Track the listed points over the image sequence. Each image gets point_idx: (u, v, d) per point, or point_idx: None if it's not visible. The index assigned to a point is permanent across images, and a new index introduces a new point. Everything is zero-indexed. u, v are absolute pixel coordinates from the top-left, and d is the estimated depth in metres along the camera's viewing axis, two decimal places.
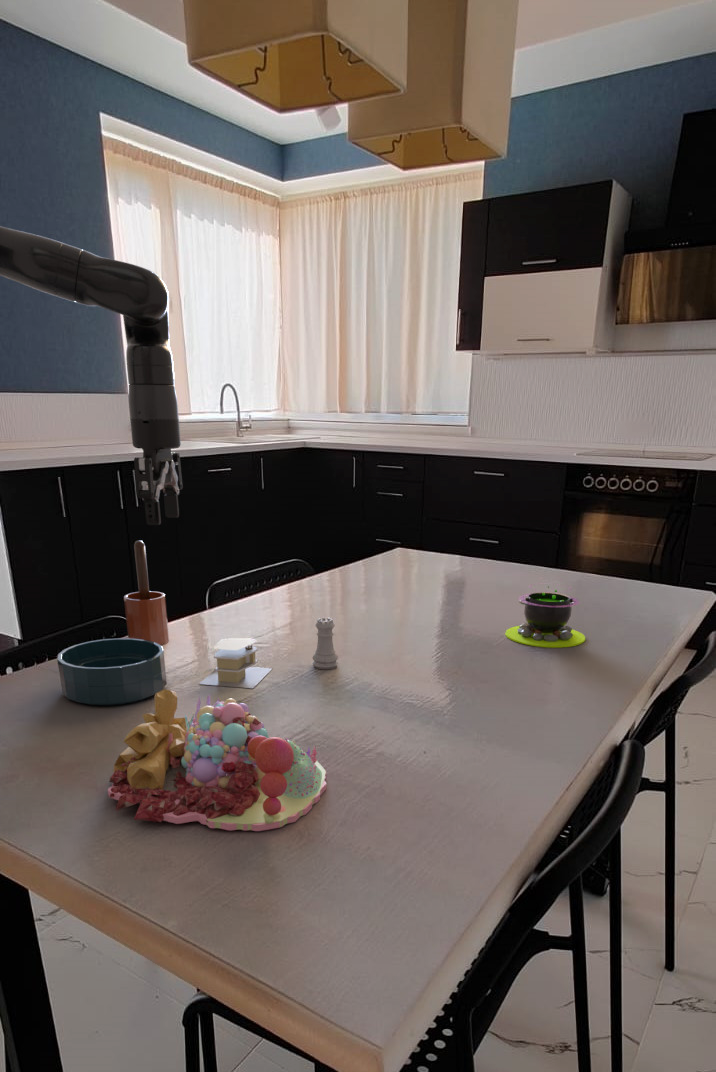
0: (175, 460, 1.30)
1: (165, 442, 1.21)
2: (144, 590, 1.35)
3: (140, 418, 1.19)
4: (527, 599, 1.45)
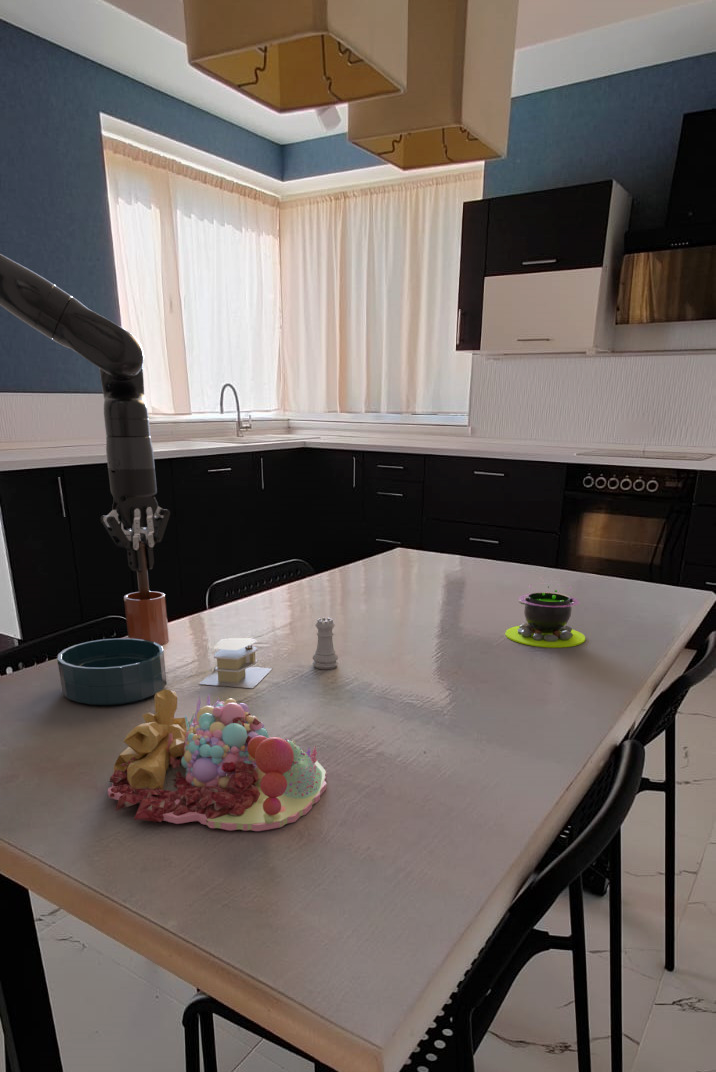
0: (162, 514, 1.34)
1: (130, 491, 1.26)
2: (144, 590, 1.35)
3: (110, 468, 1.26)
4: (527, 599, 1.45)
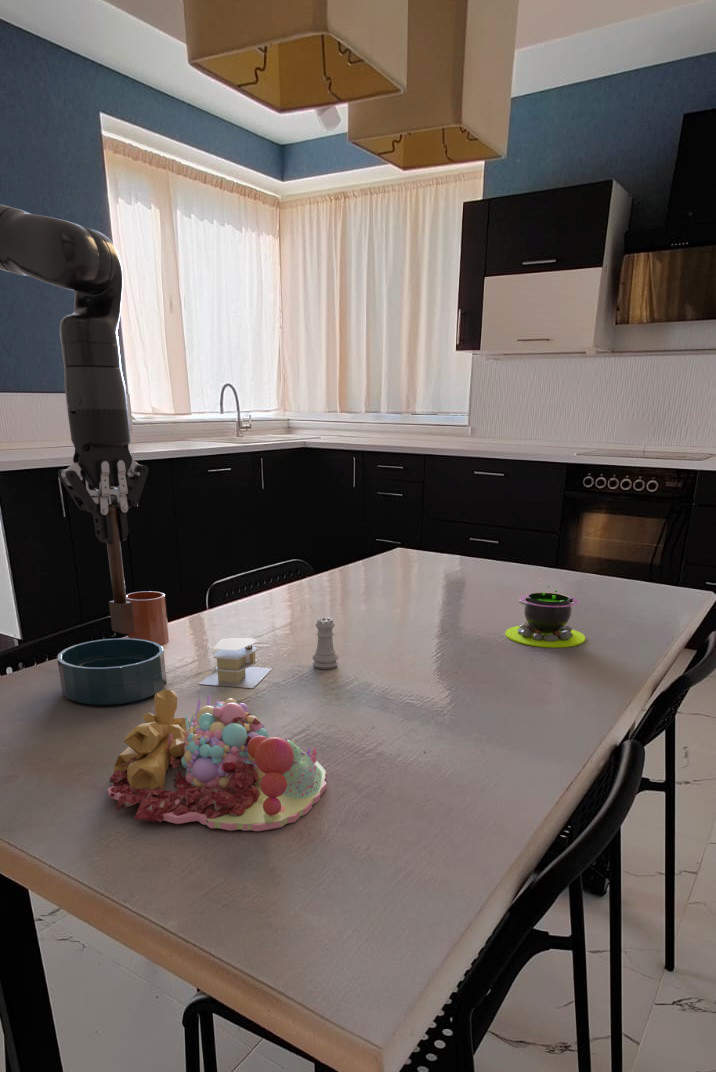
0: (139, 471, 1.07)
1: (95, 438, 0.98)
2: (116, 567, 1.08)
3: (69, 408, 0.98)
4: (527, 599, 1.45)
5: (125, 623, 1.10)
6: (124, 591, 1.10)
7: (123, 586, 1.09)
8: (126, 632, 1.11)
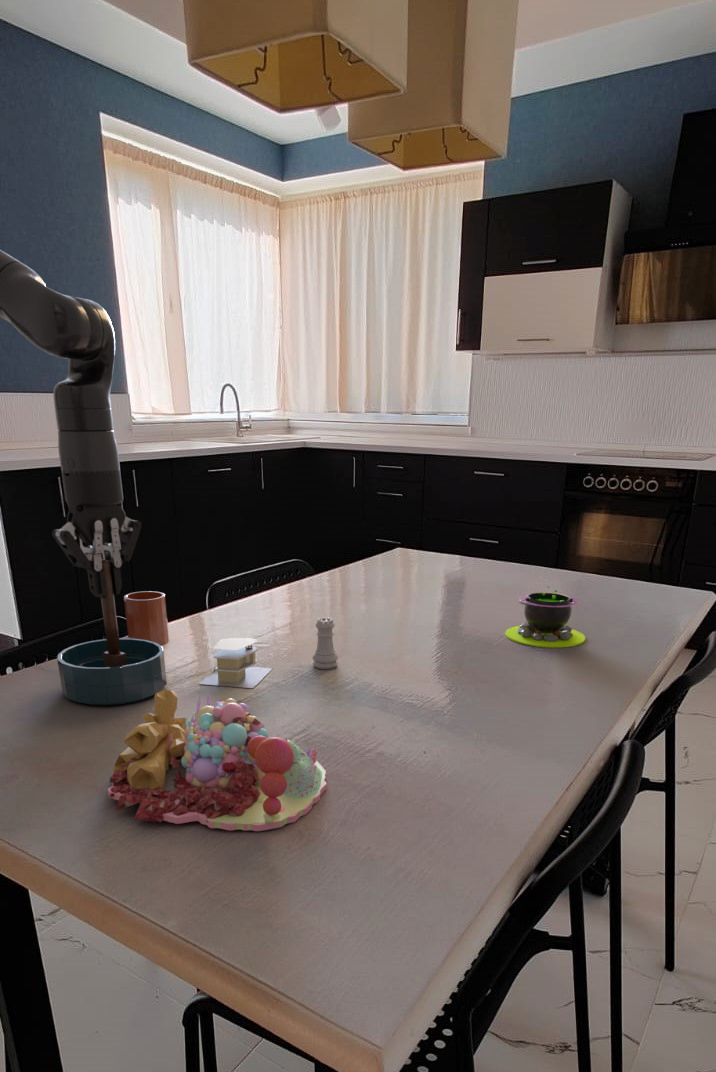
0: (132, 526, 1.09)
1: (88, 499, 1.01)
2: (110, 620, 1.10)
3: (63, 470, 1.01)
4: (527, 599, 1.45)
5: None
6: (118, 643, 1.12)
7: (117, 638, 1.12)
8: None
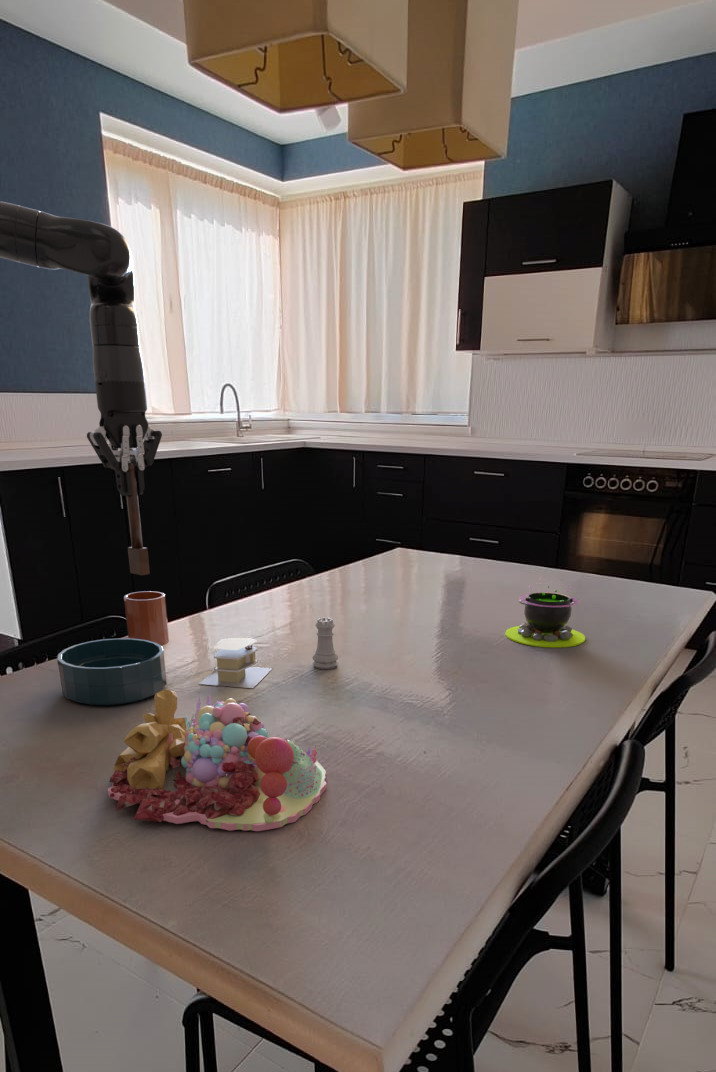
0: (153, 435, 1.26)
1: (118, 405, 1.18)
2: (134, 517, 1.27)
3: (96, 380, 1.18)
4: (527, 599, 1.45)
5: (141, 565, 1.30)
6: (141, 538, 1.29)
7: (140, 534, 1.29)
8: (142, 573, 1.30)
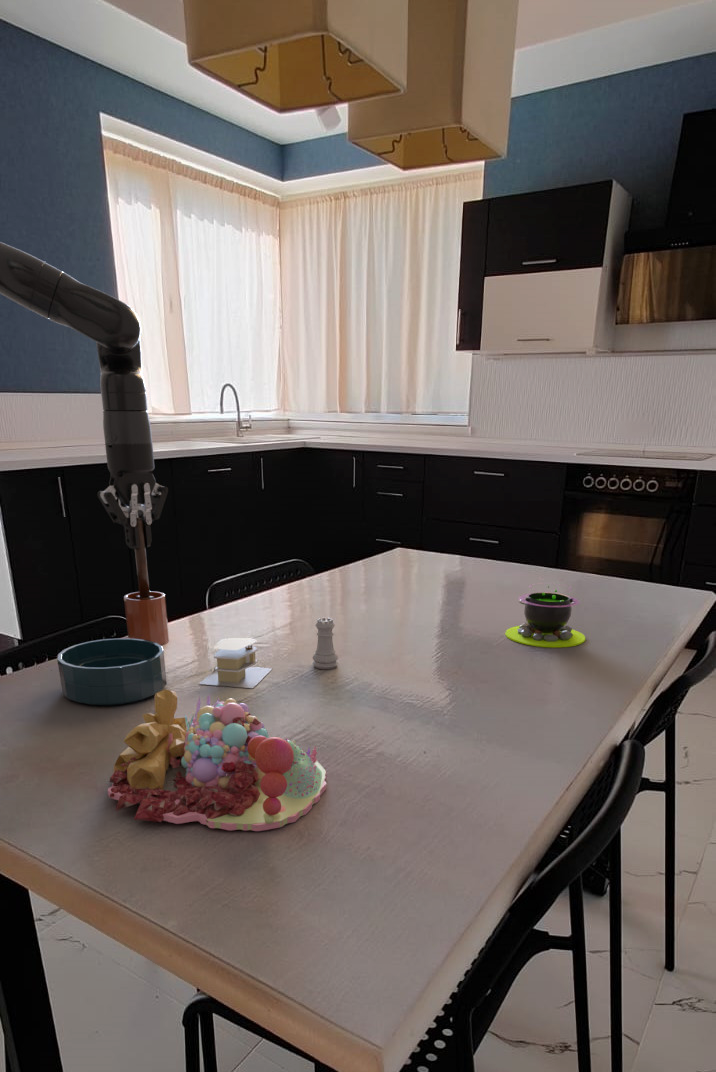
0: (160, 491, 1.33)
1: (127, 466, 1.24)
2: (142, 568, 1.34)
3: (107, 442, 1.24)
4: (527, 599, 1.45)
5: None
6: (148, 588, 1.36)
7: (147, 584, 1.35)
8: None
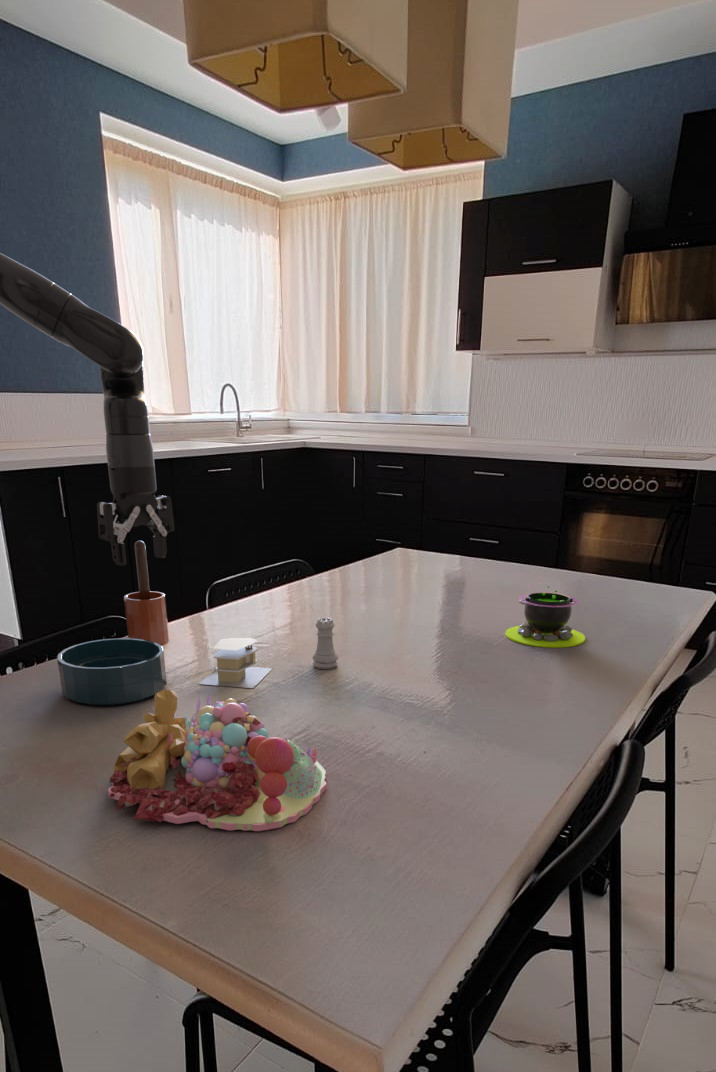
0: (164, 503, 1.34)
1: (130, 489, 1.26)
2: (144, 590, 1.35)
3: (109, 465, 1.26)
4: (527, 599, 1.45)
5: None
6: None
7: None
8: None
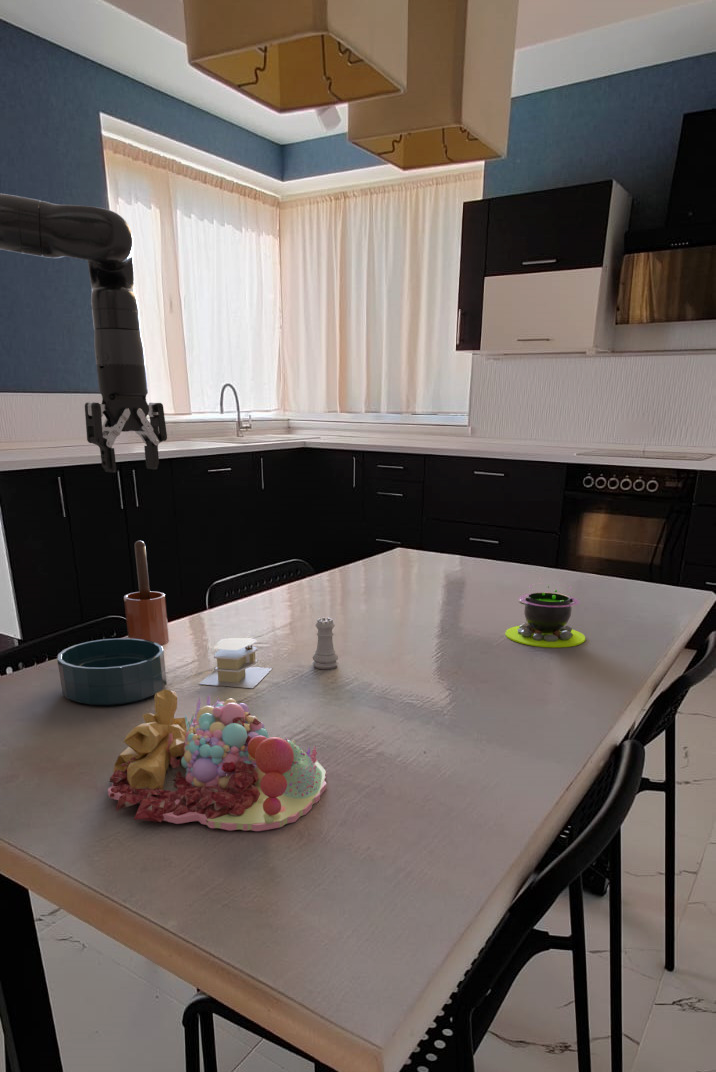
0: (156, 410, 1.28)
1: (119, 388, 1.20)
2: (144, 590, 1.35)
3: (98, 363, 1.20)
4: (527, 599, 1.45)
5: None
6: None
7: None
8: None
